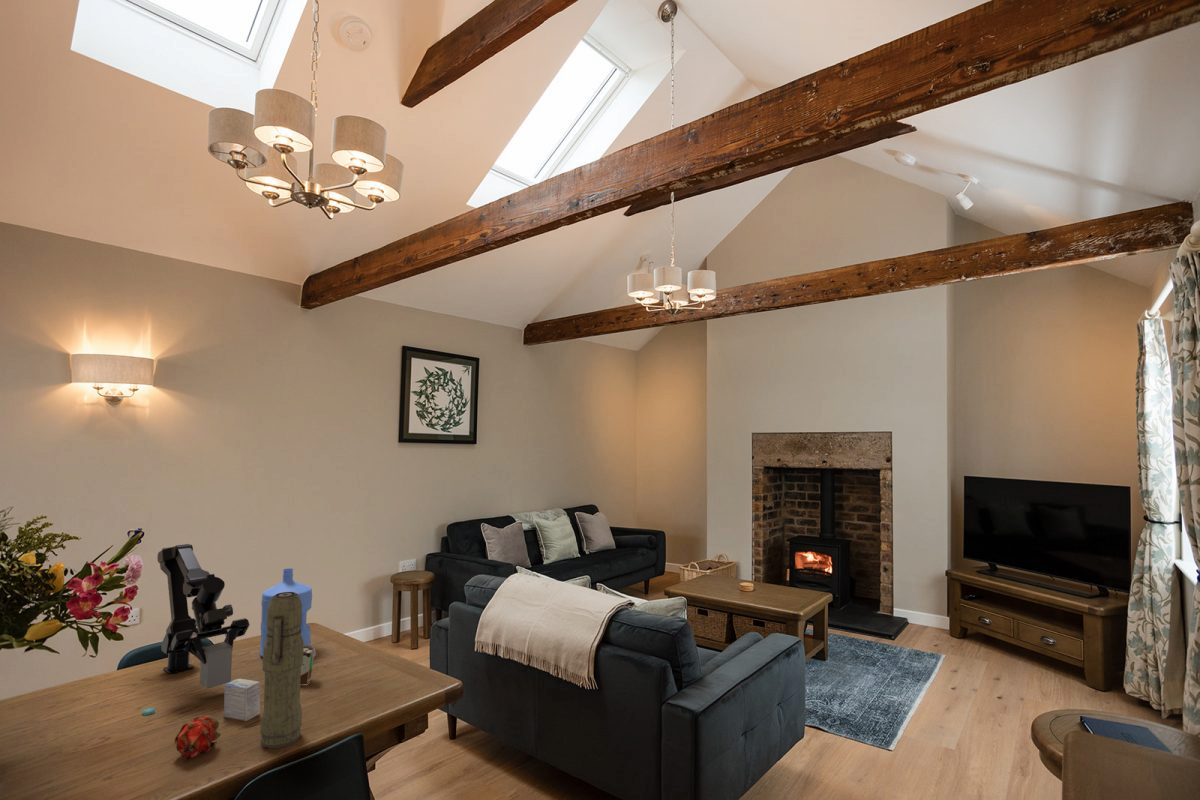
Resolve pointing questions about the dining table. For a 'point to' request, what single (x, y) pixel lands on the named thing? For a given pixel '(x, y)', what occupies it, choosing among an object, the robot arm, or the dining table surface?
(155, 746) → the dining table surface
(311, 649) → the food container
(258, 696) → the medicine box
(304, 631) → the water jug
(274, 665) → the thermos
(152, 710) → the teal rounded object
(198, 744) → the dragon fruit
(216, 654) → the grey bordered box
